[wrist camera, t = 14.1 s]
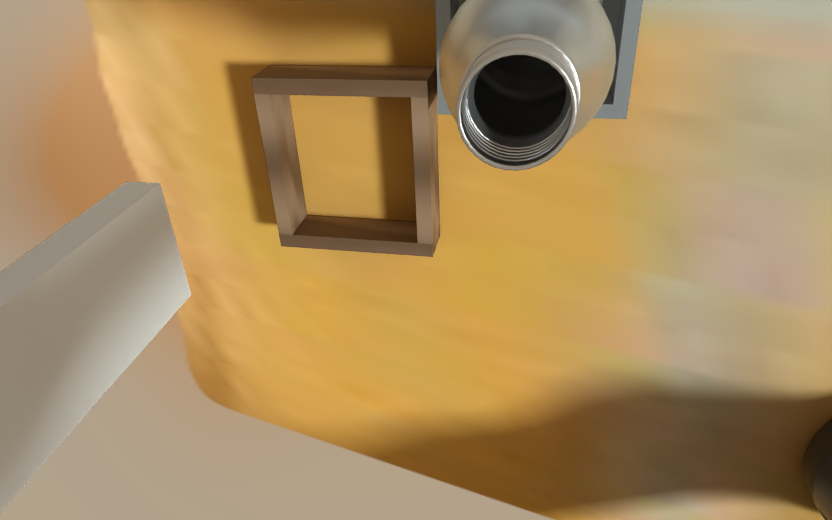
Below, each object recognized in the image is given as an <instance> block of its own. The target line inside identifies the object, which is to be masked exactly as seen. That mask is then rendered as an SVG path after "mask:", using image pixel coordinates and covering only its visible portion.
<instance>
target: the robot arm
mask: <svg viewBox="0 0 832 520" xmlns="http://www.w3.org/2000/svg"><path fill="white" fill-rule="evenodd" d="M190 296H191V292H190V288H189V285H188V281H187V278H186V274H185V271H184V267H183V264H182V260H181V256H180V253H179V249H178V246H177V242H176V239H175V235H174V231H173V228H172V224H171V221H170V217H169V214H168V210H167V207H166V203H165V199H164V196H163V192H162V189H161V185H160V183H145V182H125V183H124V184H122V185H121V186H119V187H118V188H117V189H116V190H114V191H112V192H111V193H110V194H108V195H107V196H106V197H104V198H103V199H101V200H100V201H99V202H97V203H96V204H94V205H93V206H92V207H90V208H89V209H87V210H86V211H85V212H83V213H82V214H80V215H79V216H78V217H76V218H75V219H73V220H72V221H71V222H69V223H68V224H67V225H65V226H64V227H62V228H61V229H60V230H58V231H57V232H56V233H54V234H53V235H51V236H50V237H48V238H47V239H46V240H44V241H43V242H41V243H40V244H39V245H37V246H36V247H35V248H33V249H32V250H30V251H29V252H27V253H26V254H25V255H23V256H22V257H20V258H19V259H18V260H16V261H15V262H13V263H12V264H11V265H9V266H8V267H6V268H5V269H4V270H2V271H1V272H0V513H1V511H2V510H3V509H4V508H5V507H6V506H7V505H8V503H9V502H10V501H11V500H12V499H13V498H14V496H15V495H16V494H17V493H18V492H19V491H20V490H21V488H22V487H23V486H24V485H25V484H26V483H27V482H28V481H29V479H30V478H31V477H32V476H33V475H34V474H35V473H36V471H37V470H38V469H39V468H40V467H41V466H42V465H43V463H44V462H45V461H46V460H47V459H48V458H49V457H50V455H51V454H52V453H53V452H54V451H55V450H56V449H57V447H58V446H59V445H60V444H61V443H62V442H63V441H64V440H65V438H66V437H67V436H68V435H69V434H70V432H71V431H72V430H73V429H74V428H75V427H76V426H77V425H78V423H79V422H80V421H81V420H82V419H83V418H84V417H85V416H86V414H87V413H88V412H89V411H90V410H91V409H92V407H93V406H94V405H95V404H96V403H97V402H98V401H99V399H100V398H101V397H102V396H103V395H104V394H105V393H106V392H107V390H108V389H109V388H110V387H111V386H112V385H113V384H114V382H115V381H116V380H117V379H118V378H119V377H120V376H121V374H122V373H123V372H124V371H125V370H126V369H127V367H128V366H129V365H130V364H131V363H132V362H133V361H134V360H135V358H136V357H137V356H138V355H139V354H140V353H141V352H142V350H143V349H144V348H145V347H146V346H147V345H148V344H149V342H150V341H151V340H152V339H153V338H154V337H155V336H156V334H157V333H158V332H159V331H160V330H161V329H162V328H163V326H164V325H165V324H166V323H167V322H168V321H169V320H170V318H171V317H172V316H173V315H174V314H175V313H176V312H177V310H178V309H179V308H180V307H181V306H182V305H183V304H184V302H185V301H186V300H187V299H188V298H189V297H190ZM803 473H804V478H805V481H806V484H807V486H808V489H809V491H810V494H811V496H812V499H813V501H814V504H815V505H816V507H817V509H818V511H819V512H820V514H821V515H822V516H823V518H824V519H825V520H832V420H831V421H830V422H829V423H828V424H826V425H825V426H824V427H823V428H822V429H821V430H820V431H819V432H818V433H817V434H816V436H815V437H814V438H813V440H812V441H811V443H810V444H809V446H808V448H807V450H806V453H805V456H804V461H803Z"/></svg>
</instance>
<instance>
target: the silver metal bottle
mask: <svg viewBox="0 0 832 520" xmlns="http://www.w3.org/2000/svg"><path fill="white" fill-rule="evenodd" d="M602 2H603V0H466V1H465V2H464V3H463V4H462V5H461V6H460V7H459V9H458V11H457V12H456V14H455V15H454V17H453V18H452V20H451V21H450V23H449V26H448V28H447V31H446V33H445V36H444V38H443V42H442V47H441V52H440V57H439V76H440V82H441V88H442V92H443V95H444V98H445V100H446V103H447V106H448V108H449V111H450V112H451V114H452V116H453V117H454V119H455V121H456V122H457V125H458V129H459V132H460V135H461V137H462V139H463V141H464V143H465V144H466V146H467V147H468V149H469V150H470V151H471V152H472V153H473V154H474V155H475V156H476V157H477V158H479V159H480V160H481V161H483V162H484V163H486V164H488V165H491V166H493V167H495V168H499V169H503V170H515V171H517V170H525V169H530V168H533V167H536V166H539V165H541V164H542V163H544V162H546V161H548V160H550V159H551V158H552V157H553V156H555V155H556V154H557V153H558V152H559V151H560V150H561V149H562V148H563V146H564V145H565V144H566V142H567V141H569V140H570V139H571V138H572V137H574V136H575V135H576V134H577V133H579V132H580V131H581V130H582V129H583V128H584V127H585V126H586V125H587V124H588V123H589V122H590V121H591V119H592V118H593V117H594V116H595V115H596V114H597V112H598V111H599V109H600V107H601V106H602V104H603V102H604V101H605V99H606V97H607V95H608V92H609V89H610V86H611V84H612V81H613V76H614V70H615V64H616V47H615V39H614V35H613V31H612V27H611V24H610V22H609V20H608V17H607V15H606V13H605V11H604V9H603V7H602Z"/></svg>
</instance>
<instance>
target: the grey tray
mask: <svg viewBox="0 0 832 520" xmlns="http://www.w3.org/2000/svg"><path fill="white" fill-rule="evenodd" d="M465 1H466V0H435V12H436V53H437V94H438V114H451V112H450V111H449V108H448V106H447V103H446V100H445V98H444V95H443V92H442V88H441V82H440V76H439V57H440V52H441V47H442V42H443V38H444V36H445V33H446V31H447V28H448V26H449V23H450V21H451V20H452V18H453V17H454V15H455V14H456V12H457V11H458V9H459V7H460V6H461V5H462V4H463V3H464V2H465ZM642 4H643V0H603V2H602V7H603V9H604V11H605V13H606V15H607V17H608V20H609V22H610V24H611V27H612V31H613V35H614V39H615V47H616V64H615V70H614V76H613V81H612V84H611V86H610V89H609V92H608V95H607V97H606V99H605V101H604V102H603V104H602V106H601V107H600V109H599V111H598V112H597V114H596V115H595V116H594V117H593V118H606V119H626V118H627V111H628V104H629V97H630V89H631V82H632V75H633V68H634V61H635V54H636V47H637V39H638V32H639V25H640V18H641V11H642Z"/></svg>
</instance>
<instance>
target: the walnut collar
mask: <svg viewBox="0 0 832 520" xmlns="http://www.w3.org/2000/svg"><path fill="white" fill-rule="evenodd" d="M251 81H252V87H253V92H254V98H255V103H256V109H257V114H258V120H259V125H260V131H261V137H262V142H263V148H264V153H265V159H266V164H267V170H268V175H269V181H270V186H271V192H272V197H273V203H274V209H275V214H276V220H277V225H278V231H279V236H280V242H281V246H286V247H300V248H314V249H329V250H343V251H357V252H371V253H385V254H400V255H414V256H428V257H433V254H434V251H435V248H436V245H437V243H438V240H439V237H440V215H439V175H438V135H437V95H436V67H395V66H308V65H269V66H268V67H267V68H265V69H264V70H262V71H261V72H259V73H258V74H256V75H255V76H253V77H252V78H251ZM289 95H318V96H366V97H411V112H412V134H413V155H414V176H415V197H416V219H417V222H414V221H398V220H381V219H364V218H347V217H331V216H314V215H307V211H306V205H305V198H304V191H303V185H302V178H301V172H300V165H299V158H298V152H297V145H296V138H295V132H294V125H293V119H292V112H291V105H290V99H289Z"/></svg>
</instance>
